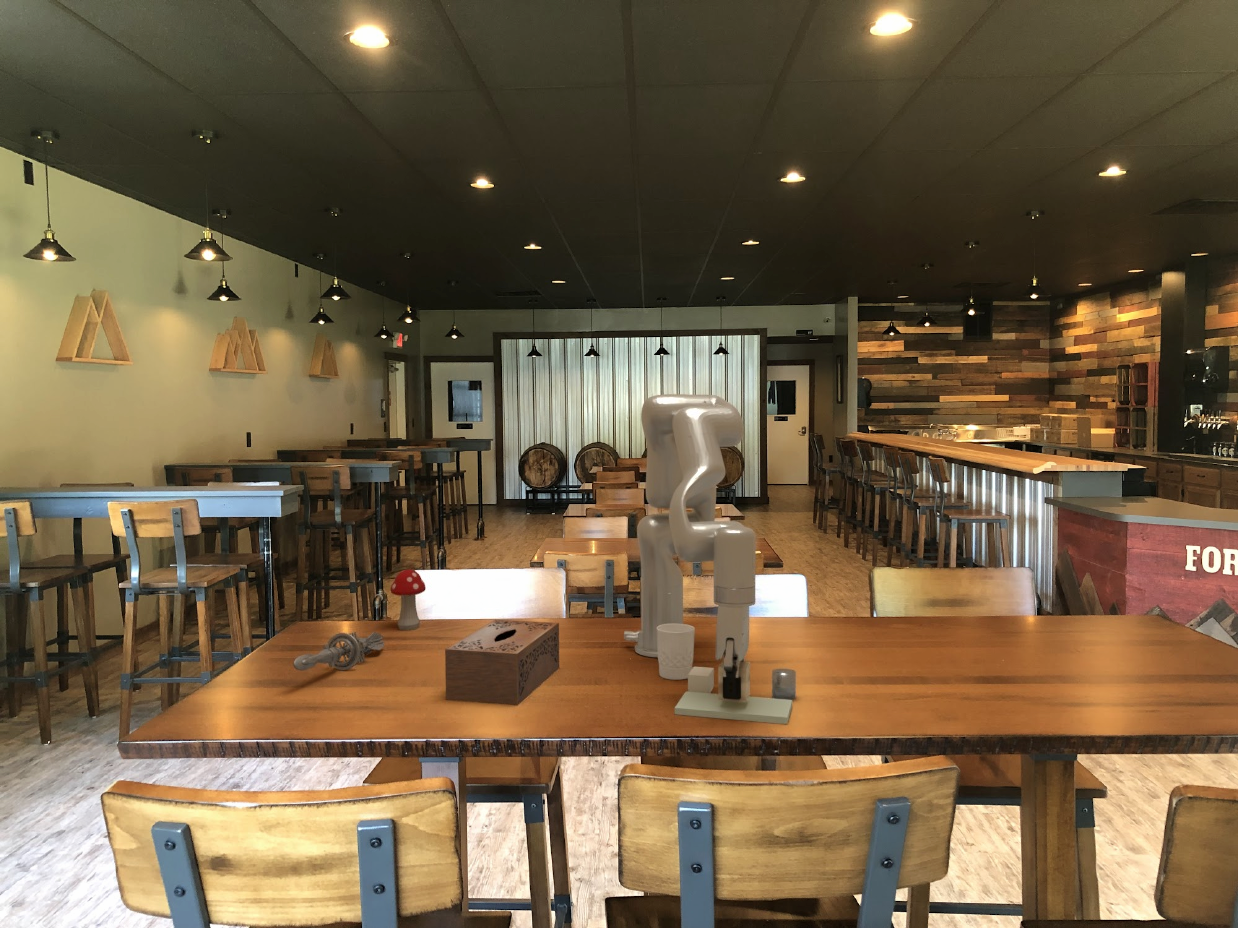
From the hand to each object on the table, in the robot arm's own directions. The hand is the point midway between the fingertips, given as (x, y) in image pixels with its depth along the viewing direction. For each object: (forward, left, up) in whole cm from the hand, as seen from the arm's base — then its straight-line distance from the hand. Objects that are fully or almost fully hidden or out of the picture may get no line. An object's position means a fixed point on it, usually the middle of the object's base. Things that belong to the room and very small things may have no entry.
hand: (734, 693), depth 162 cm
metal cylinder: (+8, +10, -3) cm, 13 cm away
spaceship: (-84, +5, -3) cm, 85 cm away
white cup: (-15, +19, -3) cm, 24 cm away
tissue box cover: (-47, +5, -4) cm, 47 cm away
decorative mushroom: (-90, +43, -3) cm, 100 cm away
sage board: (0, 0, -3) cm, 3 cm away
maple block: (0, 0, -1) cm, 1 cm away
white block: (-8, +10, -3) cm, 13 cm away
